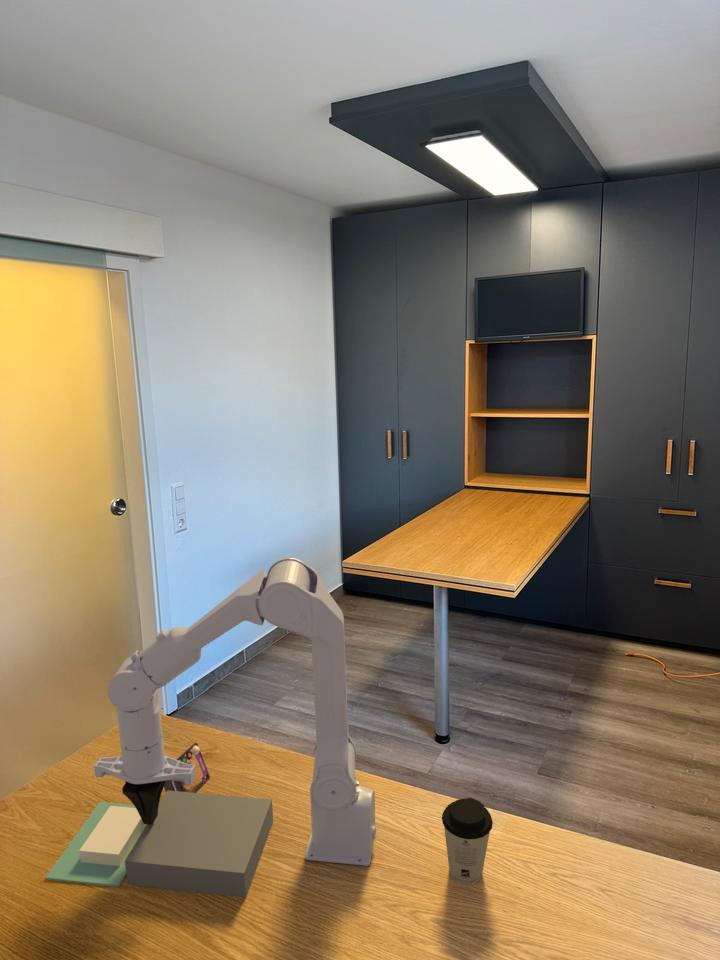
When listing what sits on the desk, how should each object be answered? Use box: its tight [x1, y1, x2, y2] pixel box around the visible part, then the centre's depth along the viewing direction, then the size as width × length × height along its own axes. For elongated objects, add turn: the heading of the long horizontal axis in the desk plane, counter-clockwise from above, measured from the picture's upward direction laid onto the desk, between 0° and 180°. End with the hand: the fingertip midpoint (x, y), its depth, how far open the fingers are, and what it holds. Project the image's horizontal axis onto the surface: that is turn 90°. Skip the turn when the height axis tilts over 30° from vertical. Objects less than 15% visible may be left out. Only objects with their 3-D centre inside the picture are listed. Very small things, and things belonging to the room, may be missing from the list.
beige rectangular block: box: [79, 806, 145, 866], centre depth 99 cm, size 6×9×2 cm, turn 172°
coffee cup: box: [441, 797, 494, 885], centre depth 92 cm, size 7×7×10 cm
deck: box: [125, 790, 274, 898], centre depth 97 cm, size 17×14×4 cm
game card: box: [163, 742, 211, 793], centre depth 110 cm, size 7×5×9 cm
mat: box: [44, 801, 147, 888], centre depth 100 cm, size 11×15×1 cm
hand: (150, 819), depth 97 cm, fingers closed
